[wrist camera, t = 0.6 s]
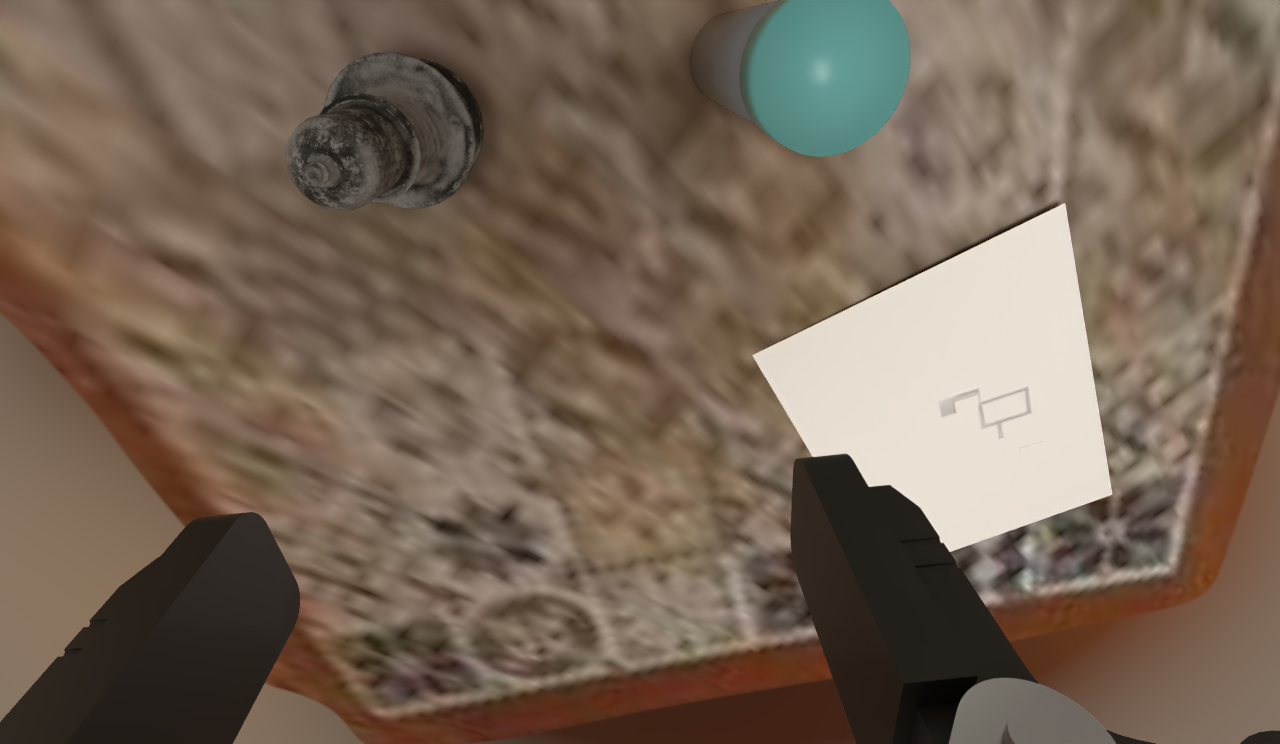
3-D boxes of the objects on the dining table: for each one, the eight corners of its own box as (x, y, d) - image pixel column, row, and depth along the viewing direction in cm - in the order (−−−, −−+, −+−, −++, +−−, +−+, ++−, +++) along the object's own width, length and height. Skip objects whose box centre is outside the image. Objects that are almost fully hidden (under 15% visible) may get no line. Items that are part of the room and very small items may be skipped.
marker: (684, 15, 26) (751, -7, 14) (773, 3, 26) (918, -29, 14) (691, 111, 28) (755, 165, 16) (774, 100, 28) (902, 146, 16)
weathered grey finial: (516, 136, 28) (461, 194, 18) (426, 215, 30) (326, 312, 19) (420, 18, 26) (289, 3, 15) (328, 111, 27) (150, 156, 17)
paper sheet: (1105, 513, 41) (1116, 524, 40) (701, 627, 46) (703, 639, 45) (1090, 185, 31) (1105, 190, 30) (566, 381, 36) (564, 390, 35)
